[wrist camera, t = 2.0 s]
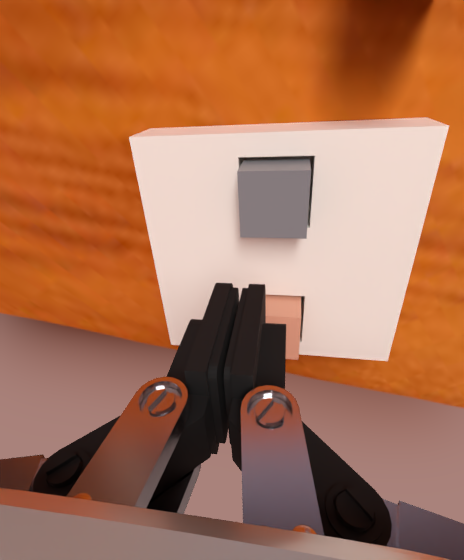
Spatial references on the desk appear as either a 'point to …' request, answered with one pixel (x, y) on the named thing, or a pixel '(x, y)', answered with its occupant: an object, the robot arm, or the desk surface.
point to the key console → (320, 229)
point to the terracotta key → (286, 319)
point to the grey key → (274, 198)
